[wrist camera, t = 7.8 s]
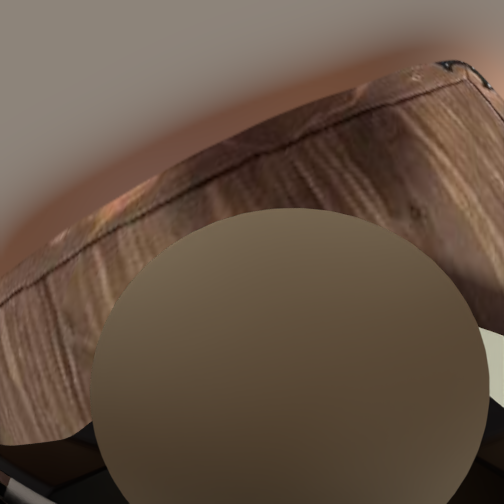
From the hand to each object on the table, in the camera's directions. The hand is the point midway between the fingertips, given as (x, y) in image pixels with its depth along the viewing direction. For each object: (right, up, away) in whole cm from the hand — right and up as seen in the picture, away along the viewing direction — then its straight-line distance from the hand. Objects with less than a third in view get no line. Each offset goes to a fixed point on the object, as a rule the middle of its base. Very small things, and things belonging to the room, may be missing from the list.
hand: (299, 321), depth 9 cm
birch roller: (+1, -3, +6) cm, 7 cm away
